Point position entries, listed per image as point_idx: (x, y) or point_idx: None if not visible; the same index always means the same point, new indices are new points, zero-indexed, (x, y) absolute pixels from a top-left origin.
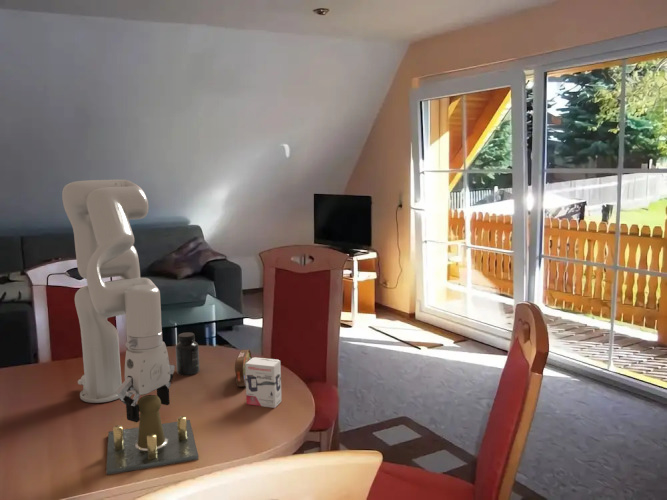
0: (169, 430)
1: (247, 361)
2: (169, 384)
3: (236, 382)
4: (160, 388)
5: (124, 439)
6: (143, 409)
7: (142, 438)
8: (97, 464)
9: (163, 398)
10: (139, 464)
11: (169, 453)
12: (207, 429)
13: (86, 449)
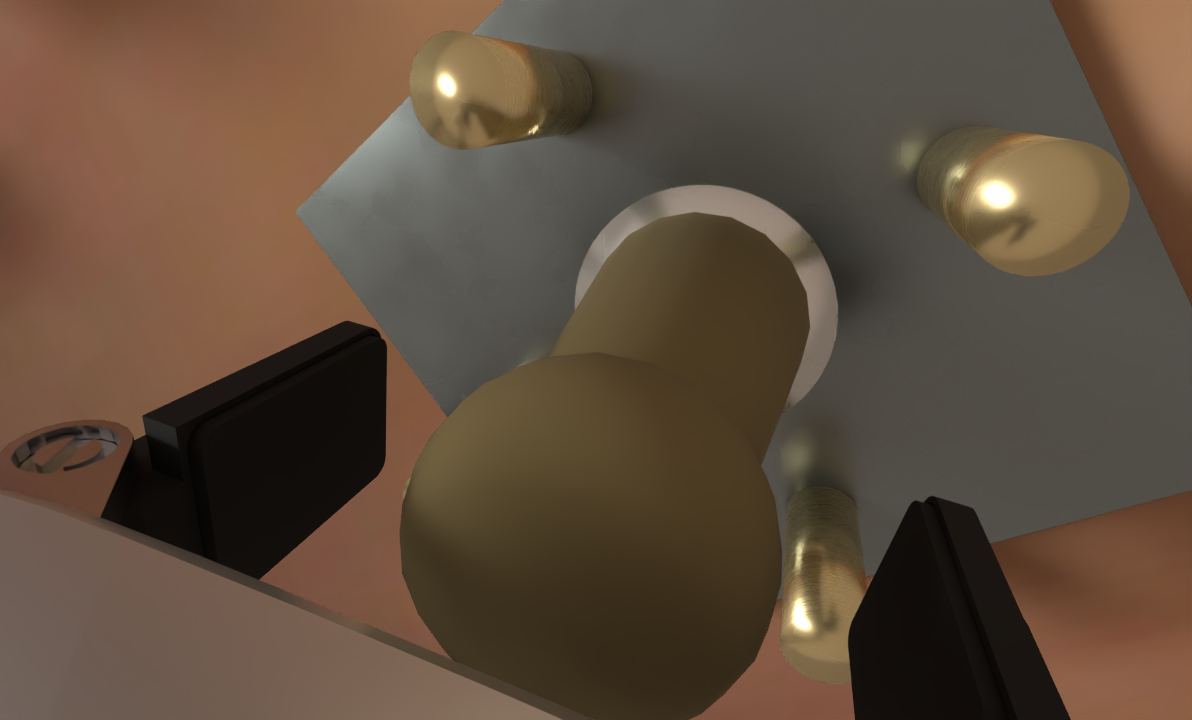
0: (479, 279)
1: None
2: (39, 454)
3: None
4: (208, 552)
5: None
6: (781, 557)
7: (792, 381)
8: (1030, 568)
9: (330, 422)
10: (1141, 227)
11: (870, 43)
12: (328, 7)
13: (812, 683)
